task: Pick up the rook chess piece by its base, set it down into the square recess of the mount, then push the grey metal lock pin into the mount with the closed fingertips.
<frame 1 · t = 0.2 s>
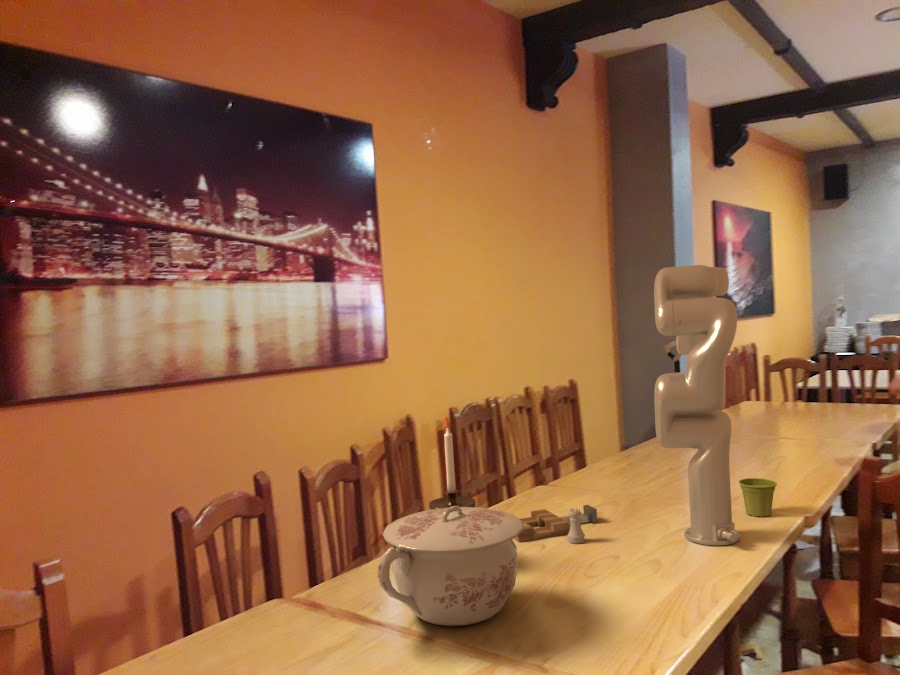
hand: (696, 374, 198), 37 cm above the table, tool pointing down, fingers open, 9 cm apart
plant pot: (759, 515, 185), on the table
rook chess piece: (576, 542, 172), on the table
candlestick: (455, 564, 161), on the table
lock pin: (573, 516, 186), point 2 cm above the table, slide at 0.0 cm
chamber pot: (456, 612, 135), on the table
mount: (532, 530, 182), on the table
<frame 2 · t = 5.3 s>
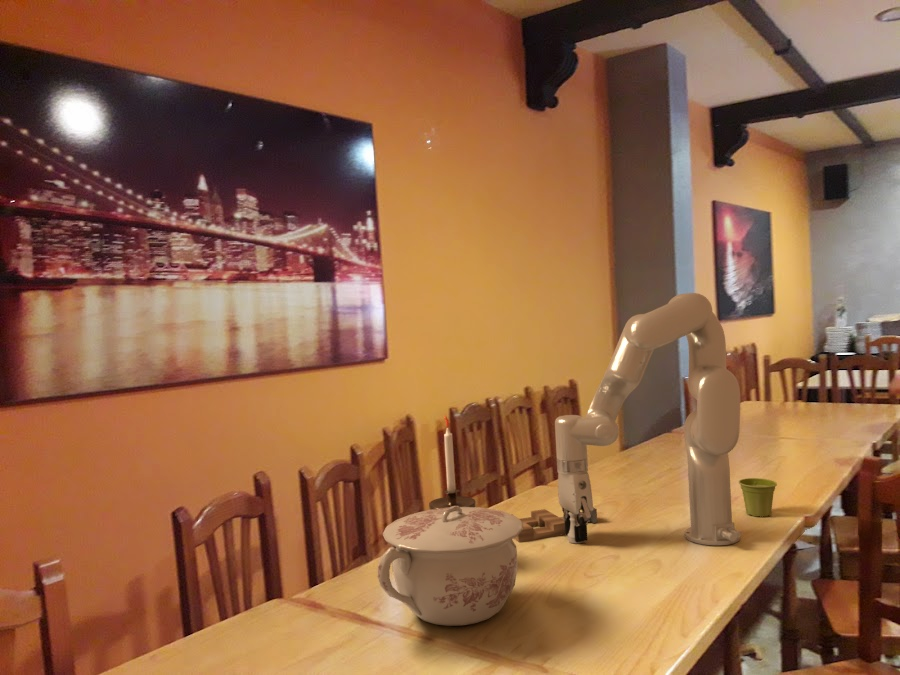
hand: (576, 537, 172), 1 cm above the table, tool pointing down, fingers closed on rook chess piece, 4 cm apart
rook chess piece: (576, 542, 172), on the table, touching gripper
everything else where it was.
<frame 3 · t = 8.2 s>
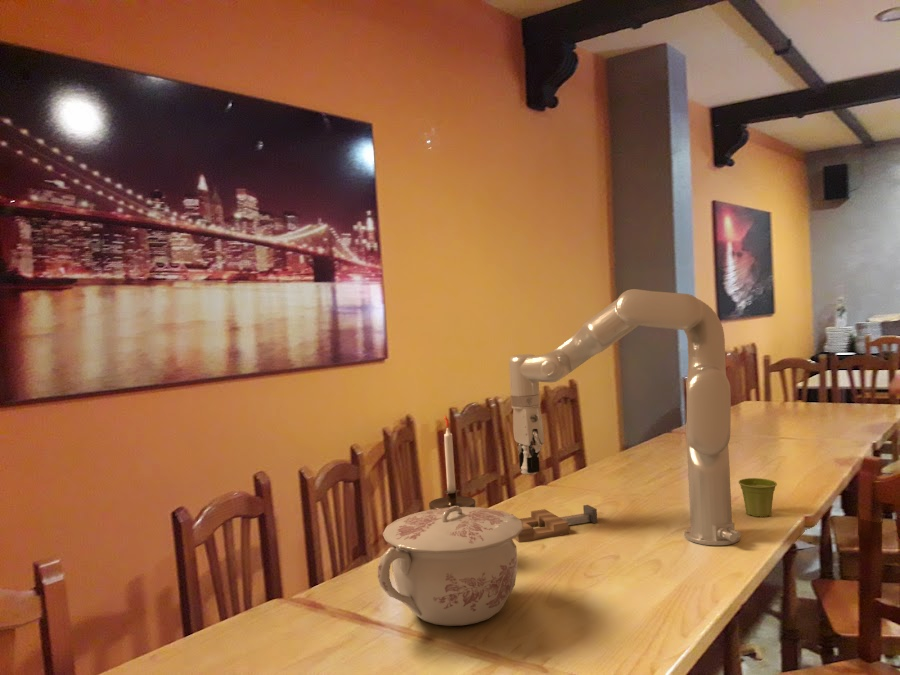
hand: (529, 469, 182), 16 cm above the table, tool pointing down, fingers closed on rook chess piece, 4 cm apart
rook chess piece: (529, 474, 182), point 15 cm above the table, touching gripper
everything else where it was.
when the fingers open (2 cm above the table, at t = 11.0 s): rook chess piece drops 1 cm, resting in mount.
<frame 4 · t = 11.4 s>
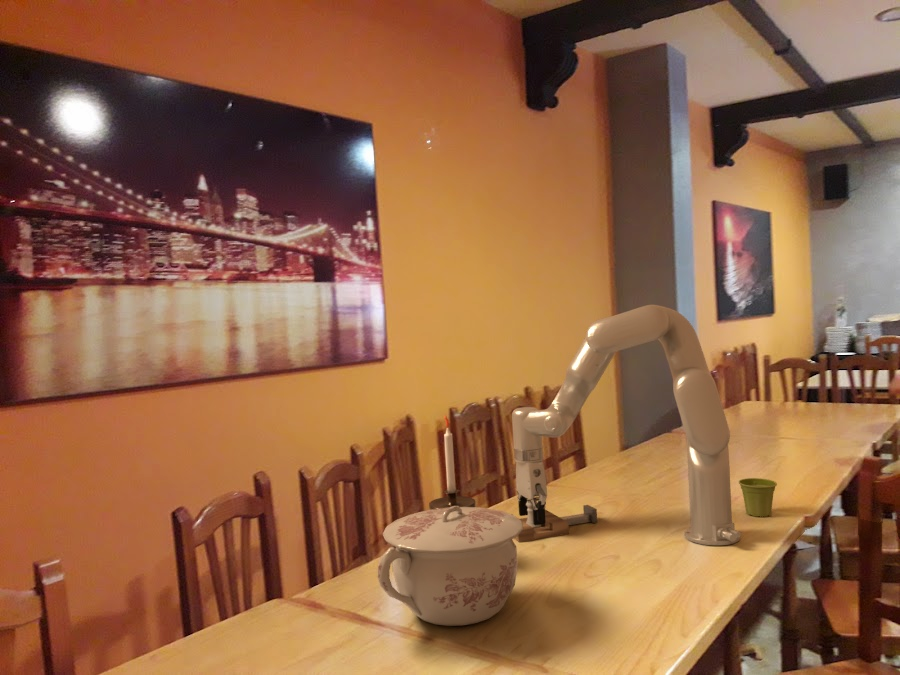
hand: (532, 519, 182), 3 cm above the table, tool pointing down, fingers open, 8 cm apart
rook chess piece: (533, 531, 182), resting in mount
everything else where it was.
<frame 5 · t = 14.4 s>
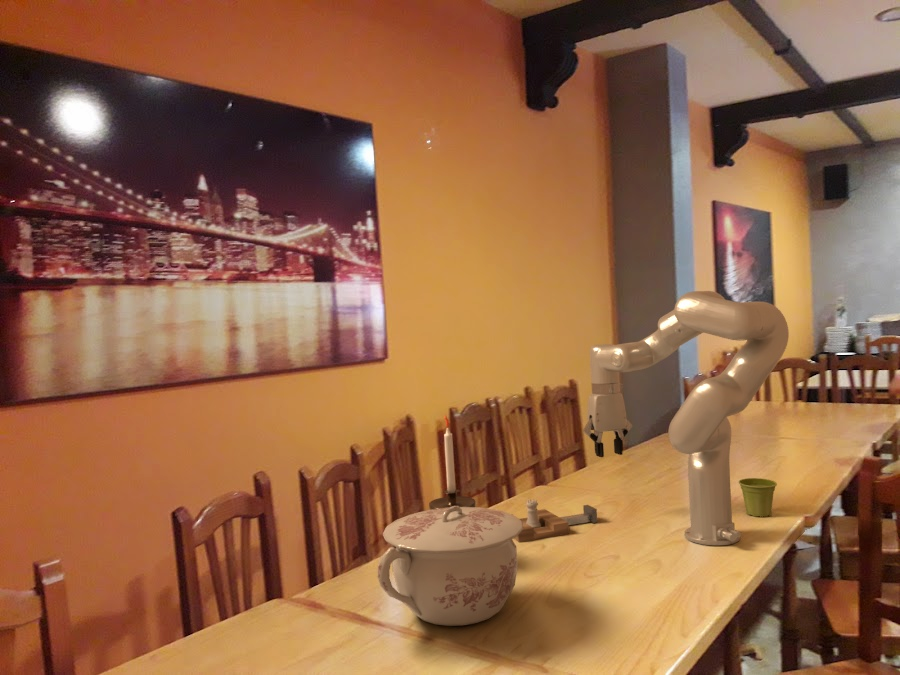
hand: (609, 454, 189), 17 cm above the table, tool pointing down, fingers open, 5 cm apart
nothing on the table moved.
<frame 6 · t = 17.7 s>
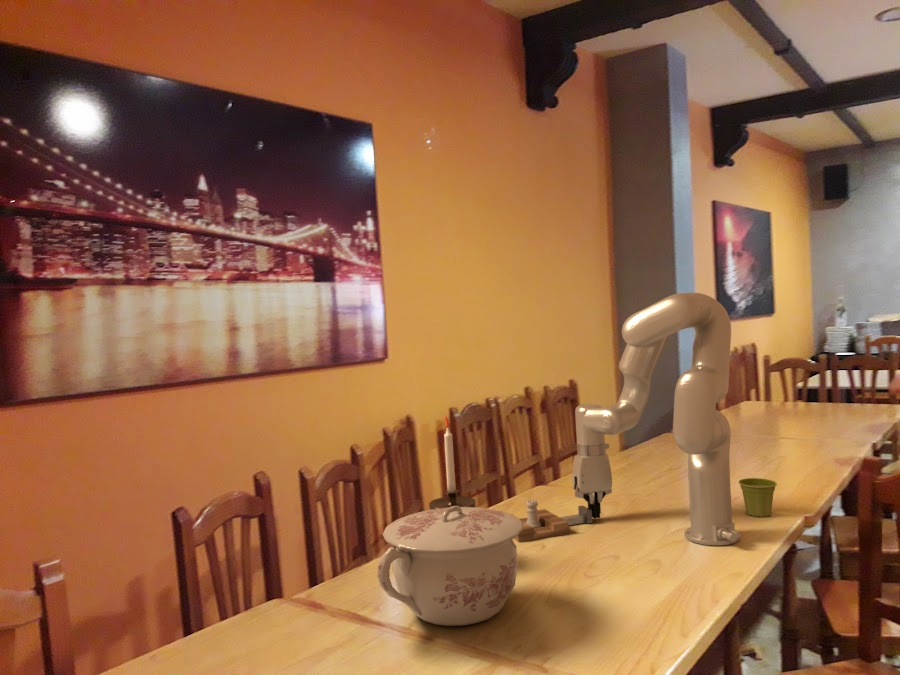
hand: (594, 516, 188), 1 cm above the table, tool pointing down, fingers closed
lock pin: (568, 517, 185), point 2 cm above the table, slide at 1.5 cm, touching gripper
everything else where it was.
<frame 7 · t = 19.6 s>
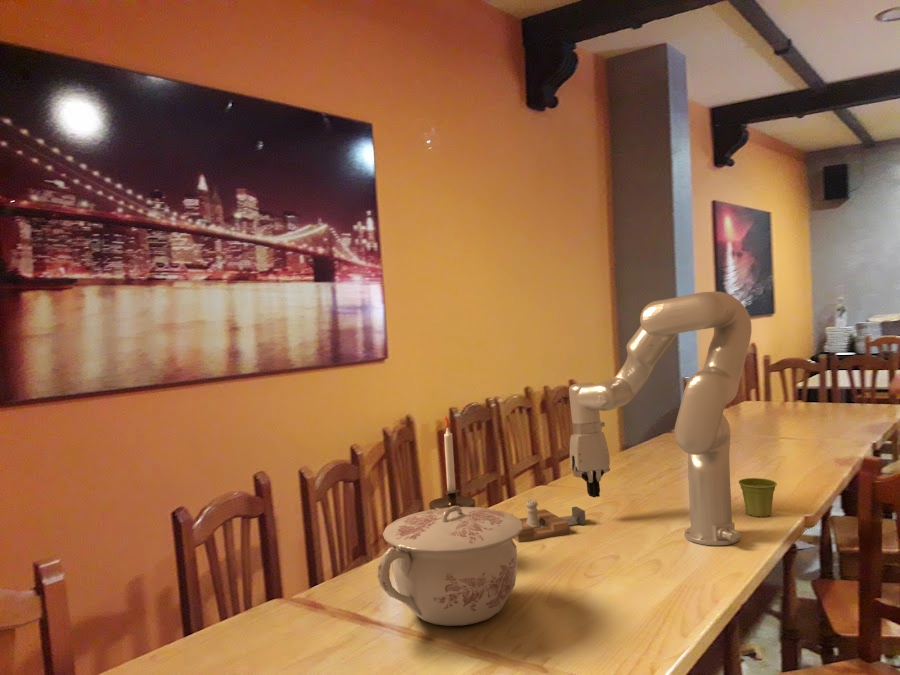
hand: (594, 496, 186), 7 cm above the table, tool pointing down, fingers closed
lock pin: (561, 518, 185), point 2 cm above the table, slide at 3.5 cm
everything else where it was.
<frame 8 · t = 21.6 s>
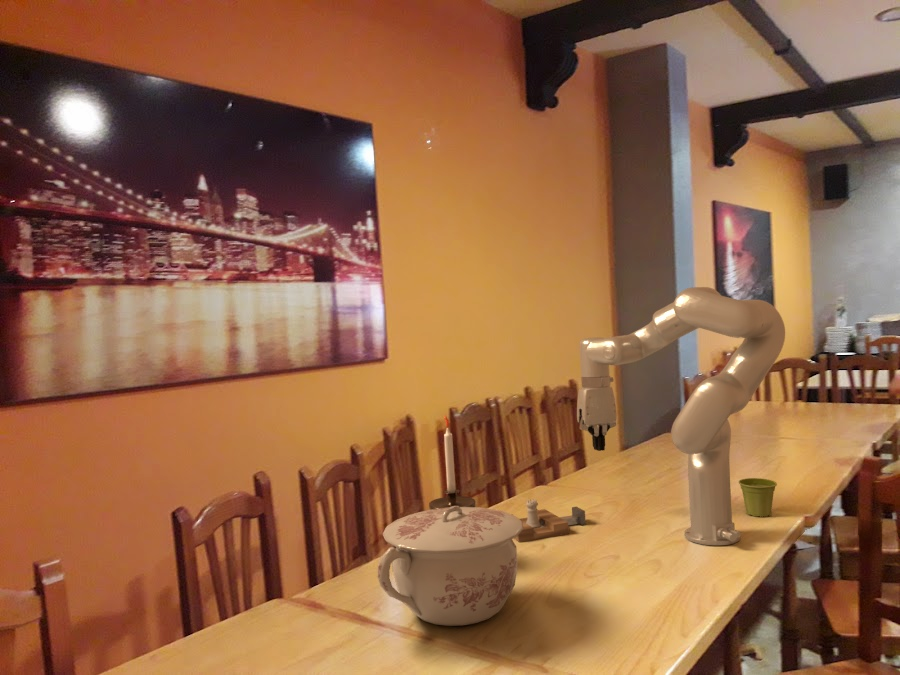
hand: (599, 449, 188), 19 cm above the table, tool pointing down, fingers closed
nothing on the table moved.
at the end: rook chess piece 0.1 cm off-centre on the mount, point 0.0 cm above the mount's base; rook chess piece tilted 0°; lock pin slide at 3.5 cm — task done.
